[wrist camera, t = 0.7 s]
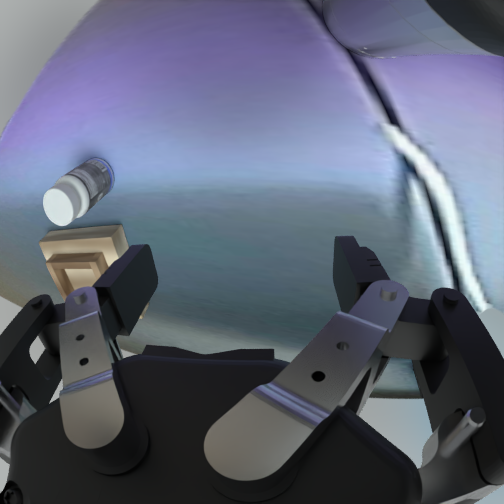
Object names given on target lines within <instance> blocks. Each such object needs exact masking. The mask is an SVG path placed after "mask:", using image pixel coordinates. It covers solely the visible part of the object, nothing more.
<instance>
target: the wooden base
mask: <svg viewBox="0 0 504 504" xmlns="http://www.w3.org/2000/svg"><path fill="white" fill-rule="evenodd" d="M39 244H40V247H41V249H42V251H43V254H44V256H45V258H46V260H47V261H46V265H47V267H48V270H49V272H50V274H51V276H52V278H53V280H54V282H55V284H56V286H57V288H58V290H59V292H60V293H61V295H62V297H63V299H64V301H65V299H66V297H67V296H68V295H69V294H70V293H71V292H73V291H74V290H76V289H78V288H81V287H86V286H90V287H92V286H93V284H94V283H95V282H96V281H97V280H98V279H99V278H100V276H101V275H102V274H104V272H105V271H106V270H107V269H108V267H109V266H110V265H111V264H112V263H113V262H114V261H115V260H117V259H118V258H120V257H121V256H122V255H123V254H124V253H125V252H126V251H127V250H128V249H129V246H128V243H127V240H126V237H125V233H124V230H123V227H122V224H121V225H109V226H98V227H87V228H76V229H66V230H56V231H50V232H49V233H48V234H47V235H46V236H45V237H44V238H43V239H42V240H40V241H39ZM148 305H149V302H148V304H147V305H146V307H145V309H144V311H143V312H142V314H141V316H140V317H139V318H141V319H143V317H144V314H145V312H146V310H147V308H148Z"/></svg>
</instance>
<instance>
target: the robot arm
mask: <svg viewBox="0 0 504 504" xmlns="http://www.w3.org/2000/svg"><path fill="white" fill-rule="evenodd" d="M322 10H323V17H324V20H325V23H326V25H327V27H328V29H329V31H330V32H331V34H332V35H333V36H334V37H335V38H336V40H337V41H339V42H340V43H341V44H342V45H343V46H344V47H346V48H347V49H349V50H351V51H352V52H354V53H356V54H359V55H361V56H364V57H369V58H378V59H383V58H396V57H403V56H417V55H439V54H468V55H490V56H502V57H504V0H323V5H322ZM333 281H334V286H335V290H336V293H337V297H338V300H339V304H340V307H341V311H339V312H337V313H336V314H335V315H334V316H333V317H332V319H331V320H330V321H329V322H328V323H327V324H326V325H325V326H324V328H323V329H322V330H321V331H320V332H319V333H318V334H317V335H316V336H315V337H314V338H313V340H312V341H311V342H310V343H309V344H308V345H307V346H306V347H305V348H304V349H303V350H302V351H301V352H300V353H299V354H298V355H297V356H296V357H295V358H294V359H293V361H292V362H291V363H289V362H286V361H283V360H279V359H274V349H238V350H232V351H226V352H220V353H213V354H199V353H195V352H192V351H188V350H184V349H180V348H177V347H169V346H155V345H146V347H145V349H144V351H143V353H142V354H138V355H133V356H130V357H126V358H123V355H122V353H121V349H120V346H119V343H118V341H117V339H116V336H117V335H124V336H129V335H130V333H131V332H132V330H133V328H134V326H135V325H136V323H137V321H138V319H139V317H140V316H141V314H142V312H143V311H144V309H145V307H146V305H147V304H148V302H149V300H150V298H151V297H152V295H153V293H154V292H155V290H156V288H157V285H158V276H157V272H156V268H155V264H154V260H153V256H152V252H151V249H150V246H149V245H148V244H142V245H132V246H130V248H129V249H128V250H127V251H126V252H125V253H124V254H123V255H122V256H121V257H120V258H118V259H117V260H115V261H114V262H113V263H112V264H111V265H110V266H109V267H108V269H107V270H106V271H105V272H104V274H102V275H101V276H100V278H99V279H98V280H97V281H96V282H95V283H94V284H93V286H92V287H90V286H86V287H81V288H78V289H76V290H74V291H73V292H71V293H70V294H69V295H68V296H67V297H66V299H65V303H61V304H56V305H54V304H53V301H52V299H51V297H50V296H49V295H47V294H43V295H39V296H37V297H35V298H33V299H31V300H30V301H29V302H28V303H27V304H26V305H25V306H24V307H23V309H22V310H21V311H20V312H19V313H18V314H17V316H16V317H15V318H14V319H13V321H11V323H10V324H9V325H8V326H7V328H6V329H5V330H4V331H3V333H2V334H1V335H0V457H1V458H2V459H3V460H4V461H6V462H7V463H8V464H10V468H9V473H8V478H7V483H6V485H5V487H4V489H3V491H2V492H1V493H0V504H474V503H475V502H477V501H479V500H480V499H482V498H484V497H485V496H487V495H489V494H490V493H492V492H493V491H495V490H496V489H498V488H499V487H501V486H502V485H504V359H503V357H502V355H501V353H500V351H499V349H498V348H497V346H496V344H495V342H494V341H493V339H492V337H491V336H490V334H489V332H488V331H487V329H486V327H485V326H484V324H483V323H482V321H481V319H480V318H479V316H478V315H477V313H476V312H475V310H474V309H473V307H472V306H471V304H470V303H469V301H468V300H467V298H466V297H465V296H464V295H463V294H462V293H460V292H459V291H457V290H454V289H451V288H439V289H436V290H435V291H433V293H432V296H431V299H430V300H426V299H418V298H412V297H409V292H408V290H407V289H406V288H405V287H404V286H403V285H402V284H400V283H398V282H395V281H391V280H390V278H389V277H388V275H387V273H386V271H385V270H384V268H383V266H381V263H380V261H379V260H378V258H377V256H376V255H375V253H374V252H373V251H371V250H370V249H368V248H367V247H359V245H358V243H357V241H356V239H355V238H354V236H336V237H335V242H334V262H333ZM37 336H39V338H40V340H41V342H42V343H43V345H44V347H45V348H46V349H45V350H44V352H43V354H42V355H41V356H40V358H39V360H38V361H37V363H36V364H35V363H34V362H33V360H32V359H31V357H30V354H29V348H30V346H31V344H32V343H33V341H34V340H35V339H36V337H37ZM391 357H396V358H404V359H412V362H413V365H414V368H415V371H416V374H417V378H418V381H419V384H420V387H421V391H422V394H423V398H424V401H425V405H426V408H427V412H428V416H429V420H430V424H431V428H432V432H433V434H432V435H431V436H430V438H429V439H428V440H427V442H426V443H425V445H424V447H423V452H422V458H423V459H422V465H421V468H419V469H417V467H416V465H415V464H414V463H413V461H412V460H411V459H410V458H409V457H408V456H407V455H406V454H404V453H403V452H402V451H401V450H400V449H398V448H397V447H396V446H394V445H393V444H392V443H391V442H389V441H388V440H387V439H386V438H384V437H383V436H382V435H381V434H380V433H378V432H377V431H376V430H375V429H374V428H372V427H371V426H370V425H369V424H368V423H366V422H365V421H364V420H363V419H361V418H360V417H359V414H360V412H361V411H362V409H363V407H364V405H365V403H366V401H367V399H368V397H369V395H370V393H371V392H372V390H373V388H374V387H375V385H376V383H377V382H378V380H379V378H380V376H381V375H382V373H383V371H384V369H385V368H386V366H387V364H388V362H389V360H390V358H391ZM61 379H62V380H63V390H61V391H60V394H59V398H58V399H56V400H55V401H53V402H51V403H50V404H49V402H50V400H51V398H52V396H53V394H54V392H55V390H56V389H57V387H58V385H59V383H60V381H61Z"/></svg>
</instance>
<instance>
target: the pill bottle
mask: <svg viewBox="0 0 504 504" xmlns="http://www.w3.org/2000/svg"><path fill="white" fill-rule="evenodd" d="M113 183H114V176H113V172H112V170H111V168H110V166H109V165H108V164H107V163H106V162H105V161H103V160H102V159H98V158H93V159H90V160H88V161H86V162H84V163H83V164H81V165H79V166H78V167H76V168H74V169H73V170H71V171H70V172H68V173H67V174H65V175H64V176H62V177H61V178H59V179H58V180H57V181H56V183H55V185H54V186H53V187H52V188H50V189H49V190H48V191H47V192H46V193H45V195H44V199H43V205H44V210H45V212H46V214H47V216H48V218H49V219H50V220H51V221H52V222H53V223H55V224H57V225H59V226H65V225H68V224H69V223H71V222H72V221H73V220H74V219H75V218H79V217H81V216H83V215H84V214H85V213H86V212H87V211H88V210H89V209H90V208H92V207H93V206H94V205H95V204H96V203H97V202H98V201H99V200H101V199H102V198H103V197H104V196H105V195H106V194H107V193H108V192H109V191H110V190H111V188H112V186H113Z"/></svg>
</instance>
